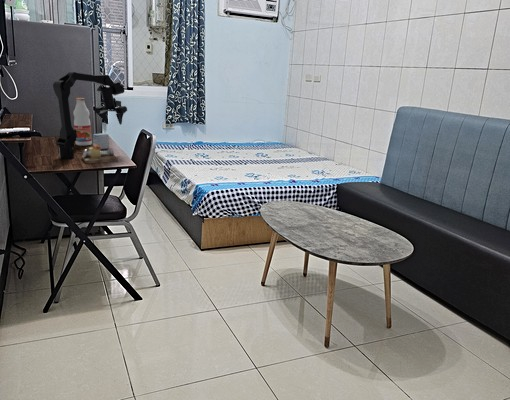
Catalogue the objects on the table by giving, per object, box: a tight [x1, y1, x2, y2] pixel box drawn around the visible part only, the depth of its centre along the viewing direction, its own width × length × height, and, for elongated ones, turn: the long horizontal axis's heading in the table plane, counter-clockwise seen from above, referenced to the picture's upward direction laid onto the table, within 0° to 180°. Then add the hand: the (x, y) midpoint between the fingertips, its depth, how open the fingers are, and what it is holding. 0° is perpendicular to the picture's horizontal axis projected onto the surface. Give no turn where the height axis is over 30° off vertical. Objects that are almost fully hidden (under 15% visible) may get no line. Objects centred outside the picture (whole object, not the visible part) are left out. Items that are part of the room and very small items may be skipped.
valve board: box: [81, 146, 119, 164], centre depth 231 cm, size 16×13×7 cm
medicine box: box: [92, 132, 110, 150], centre depth 260 cm, size 8×4×9 cm, turn 141°
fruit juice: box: [72, 97, 93, 146], centre depth 268 cm, size 9×9×28 cm
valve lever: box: [90, 142, 102, 151], centre depth 227 cm, size 11×3×2 cm, turn 30°
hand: (114, 124), depth 254 cm, fingers open, 9 cm apart
